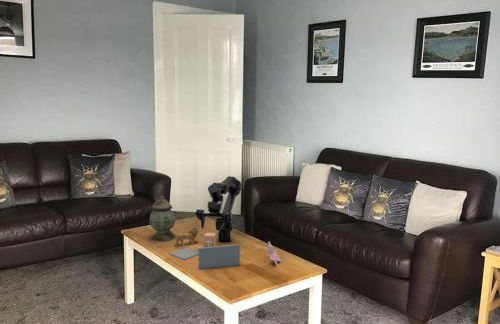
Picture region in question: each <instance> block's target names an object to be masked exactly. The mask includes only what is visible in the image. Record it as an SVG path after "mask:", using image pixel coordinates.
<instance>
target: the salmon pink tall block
mask: <svg viewBox="0 0 500 324" xmlns="http://www.w3.org/2000/svg"><path fill="white" fill-rule="evenodd" d="M213 246H217V233H216V232H205V233H204V235H203V247H213Z"/></svg>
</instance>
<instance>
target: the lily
mask: <svg viewBox="0 0 500 324" xmlns="http://www.w3.org/2000/svg"><path fill="white" fill-rule="evenodd" d="M267 243H268V247H267V246H264V248H265V249H266V250H267V252H268V255H267V257H266V258H265V259H264V261H263V263H265V262H266V261H267V259H268V258H270V260H272V261H274V263H275V265H276V266H278V262H282V259H281V258H280V256H279V255H278V254H277V252H276V249H274V247H273V245H272V244H271V242H270V241H268V242H267Z"/></svg>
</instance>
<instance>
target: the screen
mask: <svg viewBox="0 0 500 324" xmlns="http://www.w3.org/2000/svg"><path fill="white" fill-rule="evenodd" d="M240 247H241V246H240V244H239V243H238V244H237V243H236V244H225V245H216V246H213V247H204V246H202V247H198V251H199V255H198V270H200V269H201V270H202V269H210V268H218V267H219V268H220V267H229V266H231V267H232V266H239V265H240V260H241V259H240V257H241V256H240V255H241V254H240V249H241V248H240Z"/></svg>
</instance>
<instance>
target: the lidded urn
mask: <svg viewBox="0 0 500 324" xmlns="http://www.w3.org/2000/svg"><path fill="white" fill-rule="evenodd" d="M172 209H173V206H172V204H171V203H169V201H168V199H165V196H164V195H160V196H159V198H158V199H156V200H155V201H154V203H153V204H152V205H151V212H150V216H149V225H150V227H151V228H152V229H153V230H155V231H156V232H155V233H154V234H153V235H152V236H151V238H152V240H153V241H156V242H170V241H173V240H174V239H177V237H176V234H174V233H173V232H171V229H172V228H173V227H174V226H175V223H176V216H175V214H174V211H173V210H172Z"/></svg>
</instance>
